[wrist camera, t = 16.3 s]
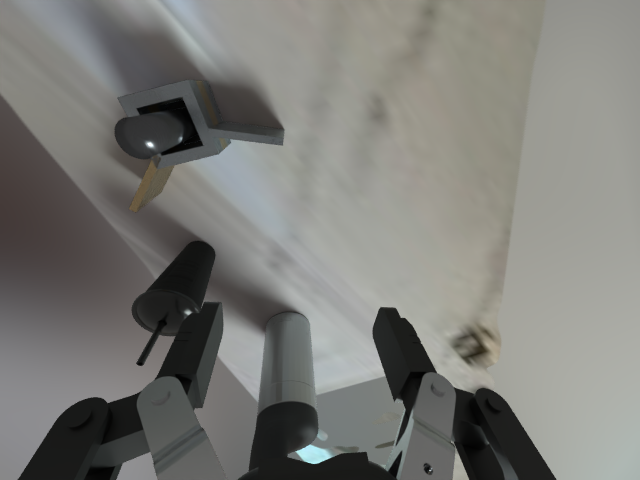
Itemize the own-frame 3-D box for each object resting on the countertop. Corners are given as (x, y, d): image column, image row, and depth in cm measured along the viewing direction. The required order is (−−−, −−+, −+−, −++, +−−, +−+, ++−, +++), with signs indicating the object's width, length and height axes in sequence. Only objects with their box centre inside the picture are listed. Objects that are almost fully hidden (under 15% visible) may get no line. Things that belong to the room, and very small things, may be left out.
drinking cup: (172, 264, 43) (95, 380, 26) (179, 227, 40) (96, 331, 23) (218, 276, 45) (175, 389, 28) (228, 241, 42) (186, 346, 25)
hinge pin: (210, 130, 33) (166, 154, 21) (187, 136, 34) (129, 163, 22) (199, 103, 32) (144, 112, 20) (175, 109, 32) (105, 122, 20)
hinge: (292, 160, 36) (293, 174, 30) (157, 193, 37) (131, 213, 31) (267, 66, 30) (261, 60, 24) (107, 107, 31) (63, 111, 25)
